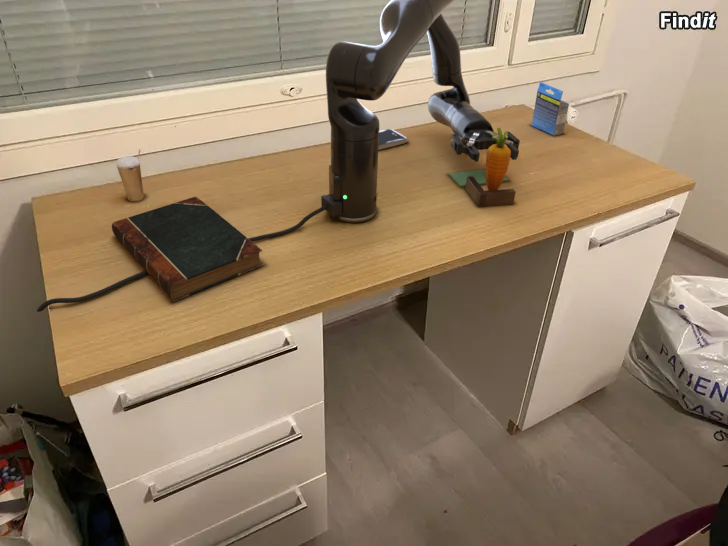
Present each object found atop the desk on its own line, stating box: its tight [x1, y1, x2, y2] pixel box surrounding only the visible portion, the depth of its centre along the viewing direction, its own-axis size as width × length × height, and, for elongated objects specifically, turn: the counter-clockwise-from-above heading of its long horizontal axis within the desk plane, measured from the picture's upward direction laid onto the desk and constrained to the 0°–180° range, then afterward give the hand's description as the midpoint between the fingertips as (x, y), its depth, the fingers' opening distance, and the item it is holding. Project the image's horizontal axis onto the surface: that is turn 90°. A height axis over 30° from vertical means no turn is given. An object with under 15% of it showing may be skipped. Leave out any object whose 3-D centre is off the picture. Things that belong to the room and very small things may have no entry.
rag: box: [448, 168, 509, 188], centre depth 135 cm, size 12×6×1 cm, turn 107°
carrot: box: [484, 126, 511, 190], centre depth 124 cm, size 5×5×15 cm
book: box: [111, 196, 264, 302], centre depth 106 cm, size 17×4×25 cm
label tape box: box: [531, 81, 570, 137], centre depth 158 cm, size 9×4×12 cm, turn 30°
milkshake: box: [115, 149, 145, 202], centre depth 121 cm, size 4×5×10 cm
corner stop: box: [464, 176, 517, 208], centre depth 127 cm, size 8×8×3 cm
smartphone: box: [378, 128, 407, 151], centre depth 150 cm, size 8×1×15 cm
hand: (496, 156), depth 124 cm, fingers open, 8 cm apart
